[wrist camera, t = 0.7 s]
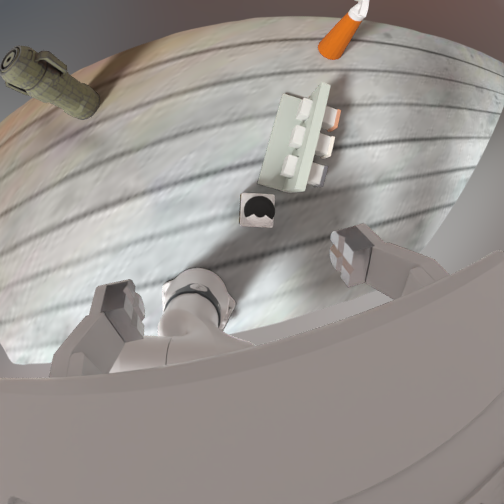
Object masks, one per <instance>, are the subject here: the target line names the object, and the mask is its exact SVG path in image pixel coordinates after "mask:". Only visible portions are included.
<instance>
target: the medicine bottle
mask: <svg viewBox="0 0 504 504" xmlns="http://www.w3.org/2000/svg"><path fill="white" fill-rule="evenodd" d="M274 205H275V195H273V194H257V193H242V194H241V195H240V212H239V224H240V226H246V227H267V228H272V227H273V221H274V214H275V208H274Z"/></svg>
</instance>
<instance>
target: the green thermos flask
mask: <svg viewBox="0 0 504 504" xmlns="http://www.w3.org/2000/svg"><path fill="white" fill-rule="evenodd" d="M0 75H1V76H2V78H3V79H4V80H5V84H6V87H8V88H11V89H13V90H15V91H17V92H20V93H22V94H25V95H28V96H31V97H33V98H35V99H37V100H40V101H42V102H45V103H48V102H49V103H51V104H53V105H55V106H57V107H59V108H61V109H63V110H64V112H65V113H67V114H68V115H70V116H73V117H75V118H78V119H81V120H84V119H88V118H89V117H91V116H92V115H93V114H94V113H95V112H96V110H97V109H98V107H99V104H100V98H99V95H98V94H97V93H96V92H95V91H94V90H93V89H92V88H91V87H89V86H88V85H86V84H85V83H80V82H79V81H78V80H76V79H75V78H74V77H72V76H71V75H69V74H68V72H67V65H65V64H64V63H62V62H61V61H60V60H59V59H57V58H56V57H55V56H54V55H53V54H52V53H51V52H49V51H41V52H39V53H37V52H36V51H34V50H32V48H30V47H26V46H16V47H14V48H12V49H11V50H10V51H9V52H8V53H7V54H6V55H5V57H4V58H3V60H2V63H1V65H0Z"/></svg>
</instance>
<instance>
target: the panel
mask: <svg viewBox="0 0 504 504" xmlns="http://www.w3.org/2000/svg"><path fill="white" fill-rule="evenodd" d="M330 86H331V85H329V84H326V83H324V82H321V84H320V85H319V86H318V87H317V88H316V90H315V91H314V92H313V93H312V95H311V96H310V97H309V98H308V99H310V100H313V102H312V106H311V110H310V114H309V118H308V119H307V120H306V121H305V122H303V121H301V120H297V119H295V118H296V115H297V111H298V107H299V103H300V102H301V101H302V99H299V98H296V97H293V96H290V95H287V94H284V93H283V95H282V97H281V101H280V104H279V108H278V111H277V115H276V118H275V122H274V126H273V129H272V133H271V136H270V140H269V143H268V147H267V150H266V154H265V158H264V161H263V165H262V169H261V172H260V176H259V179H258V183H257V184H259V185H263V186H267V187H270V188H274V189H277V190H281V191H284V192H287V193H294V192H303V191H305V189H306V185H307V181H308V177H309V173H310V169H311V166H312V162H313V158H314V154H315V150H316V146H317V142H318V138H319V134H320V130H321V125H322V121H323V117H324V113H325V108H326V104H327V100H328V95H329V91H330ZM296 125H299V126H302V127H305V128H306V130H305V134H304V138H303V142H302V145H301V147H300V148H299V149H296V148H293V147H290V146H288V145H289V141H290V137H291V133H292V130H293V128H294V127H295V126H296ZM288 155H292V156H296V157H298V161H297V165H296V168H295V172H294V176H293V178H288V177H285V176H282V175H280V174H281V171H282V167H283V163H284V159H285V157H286V156H288Z"/></svg>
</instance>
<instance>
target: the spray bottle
mask: <svg viewBox="0 0 504 504" xmlns="http://www.w3.org/2000/svg"><path fill="white" fill-rule="evenodd" d="M355 1H358V4H357V5H355V6H354V7H352V8H351V9H350V11H349V12H348V13H347V14H346V15H345V16H344V17H343V18H342V19H341V20H340V21H339V22H338V23H337V24H336V25H335V26H334V28H333V29H332V30H331V31H330V32H329V33H328V34H327V35H326V36H325V37H324V38H323V40H322V41H321V42H320V43H319V45H318V50H319V52H320V53H321V54H322V55H323V56H324V57H326V58H328V59H331V60H335V59H339V58H340V57H341V55H342V54H343V52H344V50H345V49H346V47H347V45H348V43H349V42H350V40H351V38H352V37H353V35H354V33H355V32H356V30H357V28H358V27H359V25H360V23H361V22H362V20H363V19H364V17H366V14H367V10H368V5H369V0H355Z"/></svg>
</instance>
